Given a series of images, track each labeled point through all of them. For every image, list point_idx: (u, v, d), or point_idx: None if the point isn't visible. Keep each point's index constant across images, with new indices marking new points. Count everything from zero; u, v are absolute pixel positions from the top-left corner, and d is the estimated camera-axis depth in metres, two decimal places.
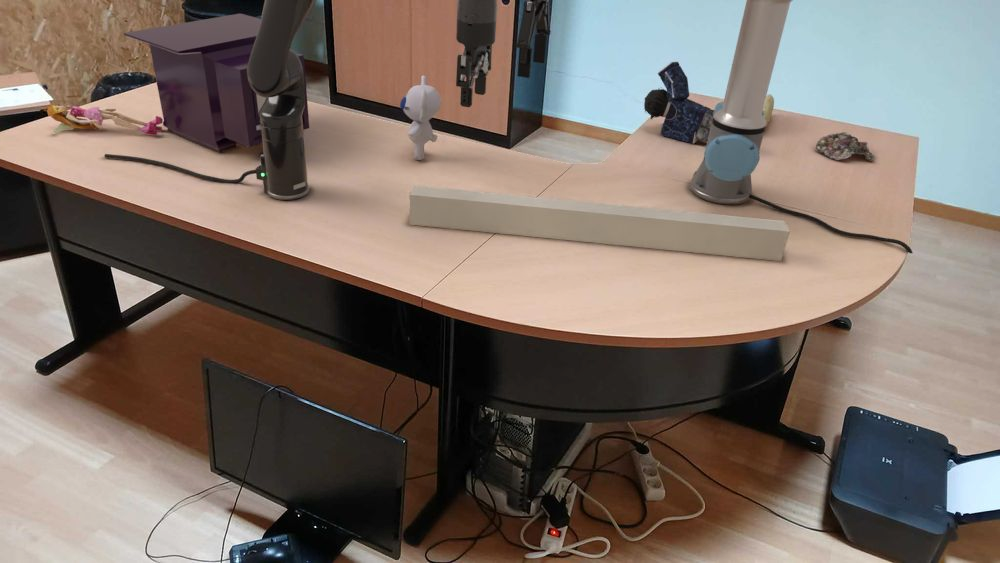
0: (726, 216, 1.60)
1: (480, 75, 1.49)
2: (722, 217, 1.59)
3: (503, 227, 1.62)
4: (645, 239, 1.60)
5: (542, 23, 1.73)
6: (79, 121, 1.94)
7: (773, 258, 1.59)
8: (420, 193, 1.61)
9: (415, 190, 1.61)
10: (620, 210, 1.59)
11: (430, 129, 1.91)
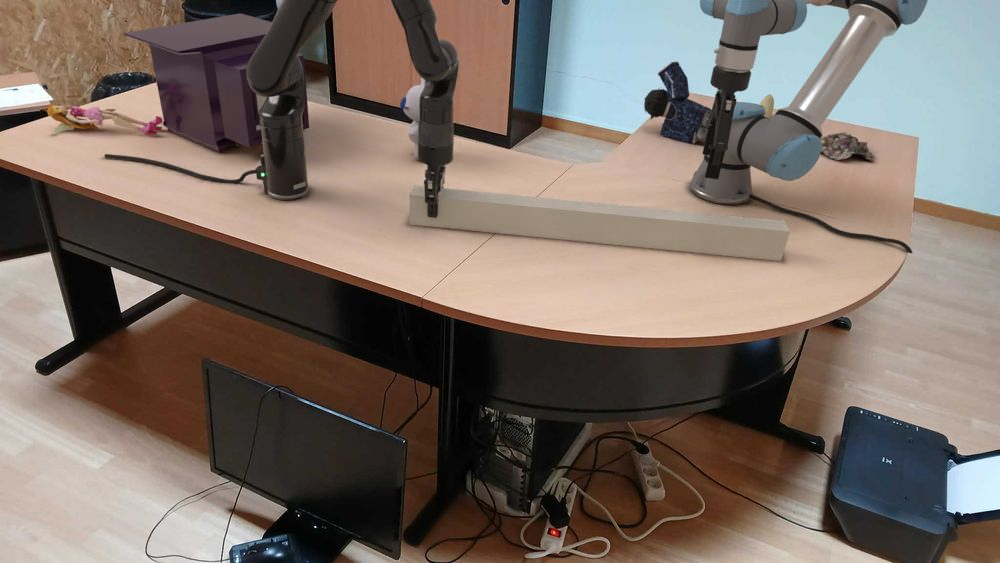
0: (726, 216, 1.60)
1: None
2: (722, 217, 1.59)
3: (503, 227, 1.62)
4: (645, 239, 1.60)
5: None
6: (79, 121, 1.94)
7: (773, 258, 1.59)
8: (420, 193, 1.61)
9: (415, 190, 1.61)
10: (620, 210, 1.59)
11: None
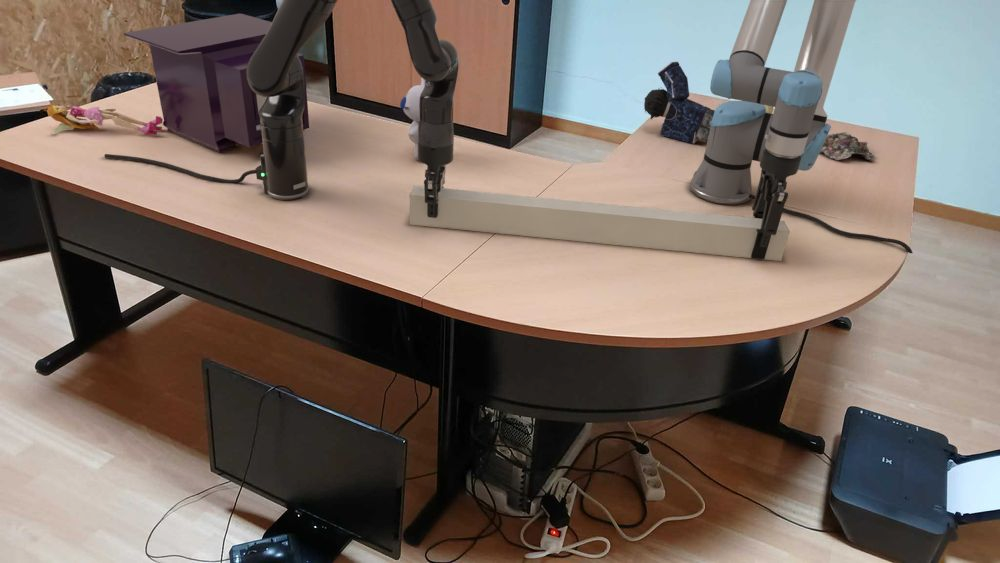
0: (726, 216, 1.60)
1: None
2: (722, 217, 1.59)
3: (503, 227, 1.62)
4: (645, 239, 1.60)
5: None
6: (79, 121, 1.94)
7: (773, 258, 1.59)
8: (420, 193, 1.61)
9: (415, 190, 1.61)
10: (620, 210, 1.59)
11: None
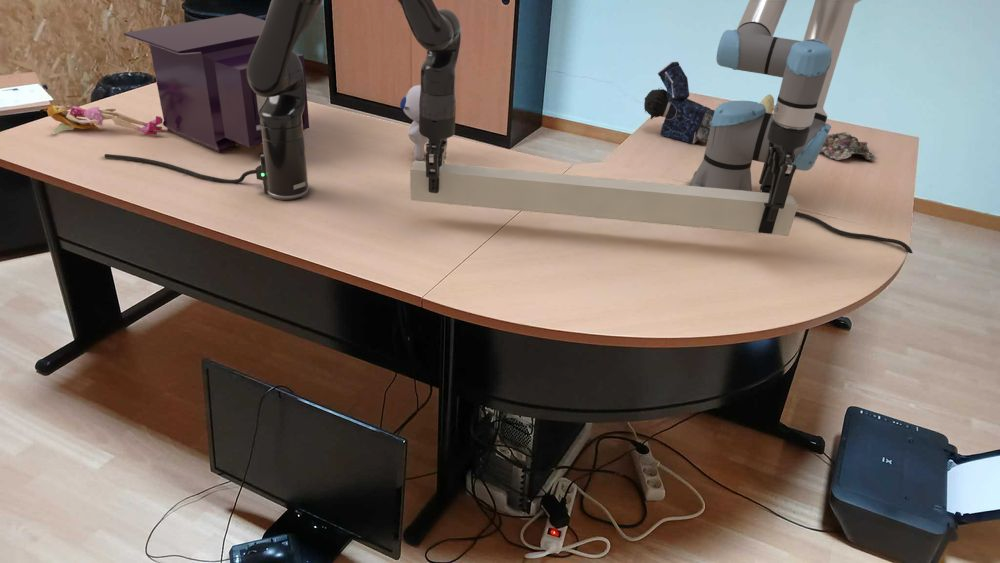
0: (732, 190, 1.57)
1: None
2: (729, 191, 1.56)
3: (506, 202, 1.59)
4: (651, 214, 1.57)
5: None
6: (79, 121, 1.94)
7: (781, 233, 1.57)
8: (420, 167, 1.58)
9: (416, 165, 1.58)
10: (625, 184, 1.56)
11: None
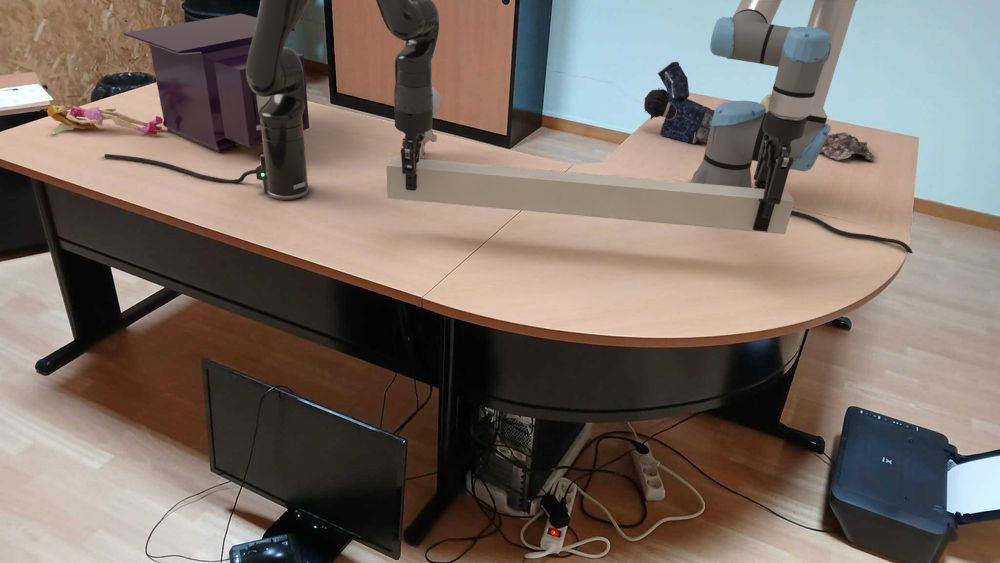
0: (725, 186, 1.49)
1: None
2: (721, 187, 1.49)
3: (487, 200, 1.51)
4: (639, 212, 1.49)
5: None
6: (79, 121, 1.94)
7: (776, 231, 1.49)
8: (397, 164, 1.50)
9: (392, 161, 1.51)
10: (612, 180, 1.49)
11: None
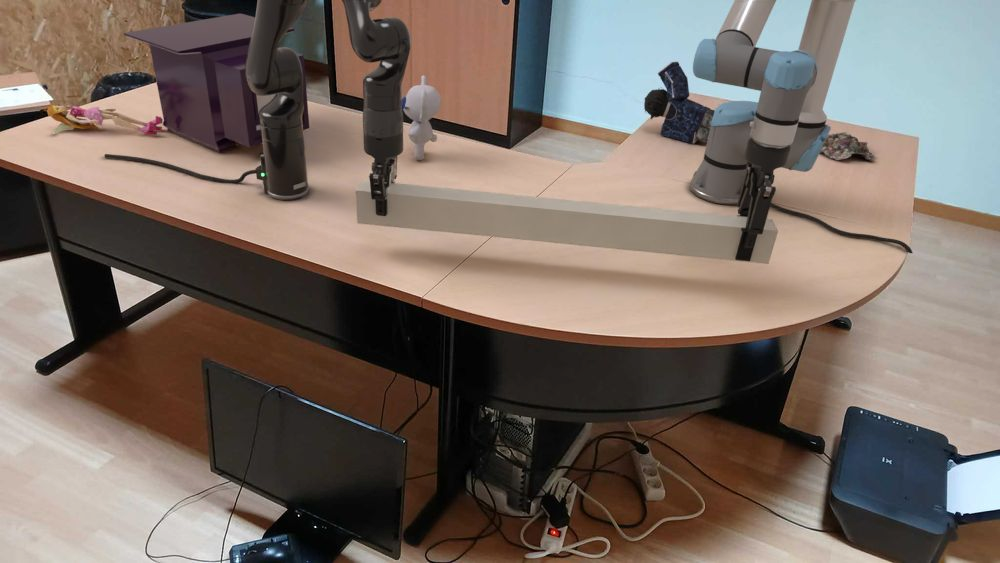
0: (707, 214, 1.44)
1: None
2: (703, 215, 1.43)
3: (460, 226, 1.46)
4: (618, 240, 1.44)
5: None
6: (79, 121, 1.94)
7: (760, 261, 1.43)
8: (367, 188, 1.45)
9: (362, 185, 1.46)
10: (590, 207, 1.43)
11: (430, 129, 1.91)
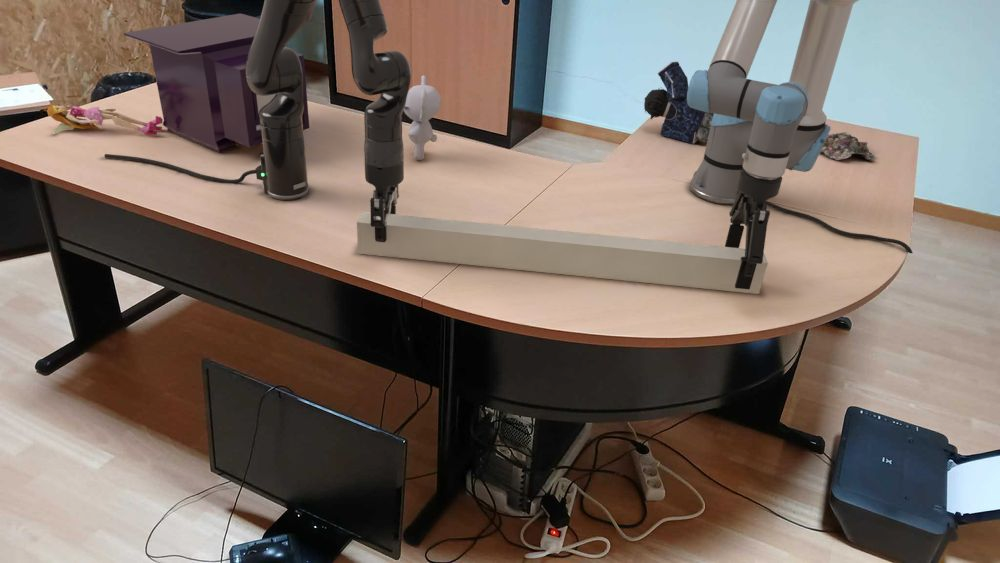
0: (699, 245, 1.48)
1: None
2: (695, 246, 1.47)
3: (458, 257, 1.49)
4: (612, 271, 1.48)
5: None
6: (79, 121, 1.94)
7: (750, 291, 1.47)
8: (368, 220, 1.48)
9: (363, 217, 1.49)
10: (585, 238, 1.47)
11: (430, 129, 1.91)
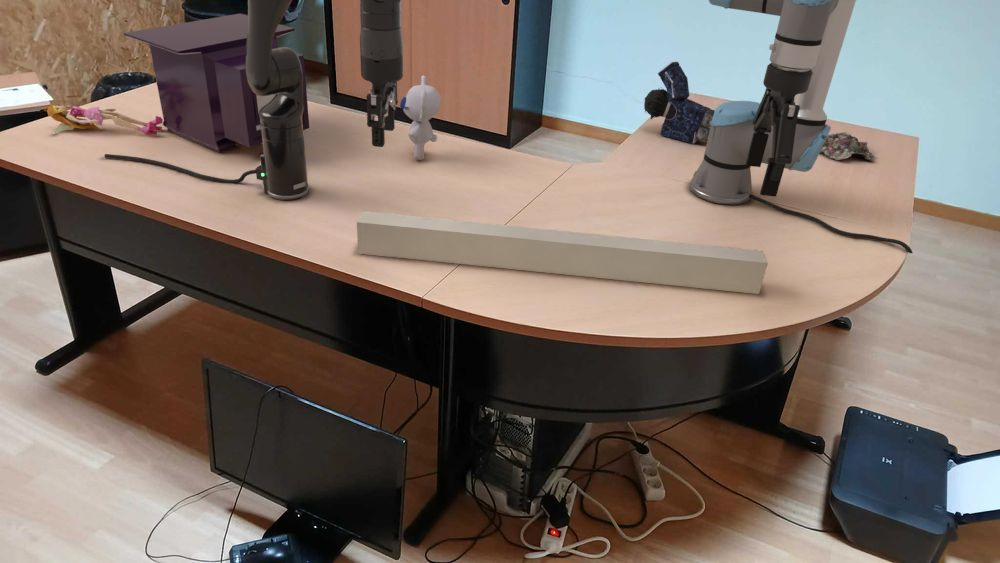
0: (699, 245, 1.48)
1: None
2: (695, 246, 1.47)
3: (458, 257, 1.49)
4: (612, 271, 1.48)
5: (770, 121, 1.36)
6: (79, 121, 1.94)
7: (750, 291, 1.47)
8: (368, 220, 1.48)
9: (363, 217, 1.49)
10: (585, 238, 1.47)
11: (430, 129, 1.91)
